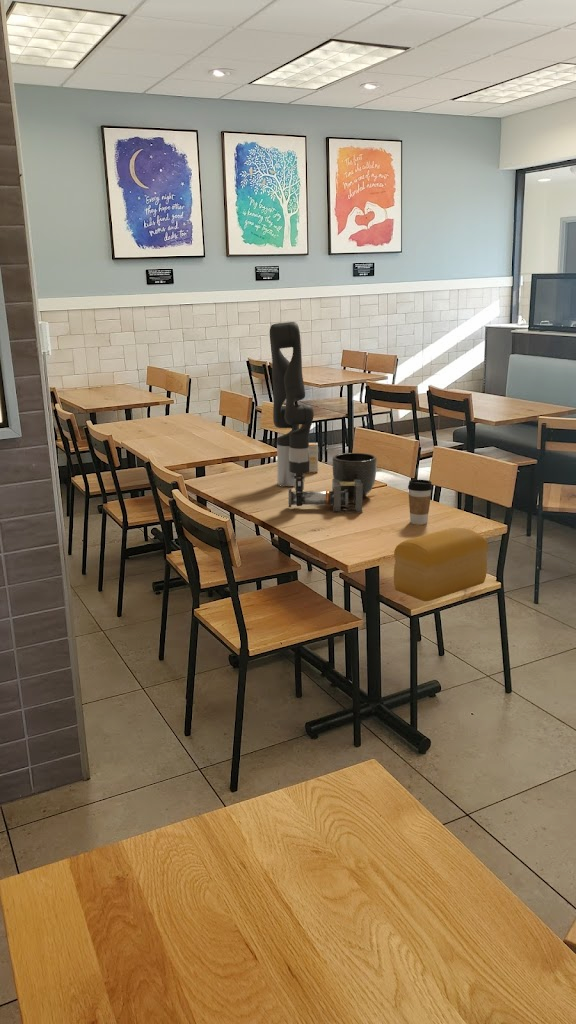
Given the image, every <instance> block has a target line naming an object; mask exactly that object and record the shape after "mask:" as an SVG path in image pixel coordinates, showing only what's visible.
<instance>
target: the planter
mask: <svg viewBox="0 0 576 1024" xmlns="http://www.w3.org/2000/svg"><path fill="white" fill-rule="evenodd" d="M377 461H378V460H377V455H374V454H369V453H364V452H363V453H361V452H348V453H347V452H345V453H344V452H343V453H338V454H335V455H333V456H332V479H339V482H354V479H360V480H361V483H362V486H363V497H362V499H365V498H366V496H367V495H368V494H369V493H370V492H371V491H372V489H373V488H374V485H375V482H376V476H377ZM345 489H347V490H348V500H353V486H341V491H345Z"/></svg>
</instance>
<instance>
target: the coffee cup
mask: <svg viewBox="0 0 576 1024" xmlns="http://www.w3.org/2000/svg"><path fill="white" fill-rule="evenodd" d="M407 489H408V506H409V521H410V523H411V524H412V525H417V526H418V525H419V526H421V525H422V526H423V525H426V524H428V521H429V520H428V519H429V512H430V506H431V505H430V504H431V499H432V497H431V496H432V494H431V493H432V490H433V483H432V481H431V480H427V479H411V480H409V481H408V485H407Z"/></svg>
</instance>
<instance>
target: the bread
mask: <svg viewBox="0 0 576 1024" xmlns="http://www.w3.org/2000/svg"><path fill="white" fill-rule="evenodd" d="M488 551H489V543H488V540H487V539H486V538H485V537H484V536H483V535H481V533H479V532H476V531H474V530H471V528H465V527H450V528H447V529H442V530H439V531H435V532H432V533H427V534H424V535H420V536H416V537H413V538H409V539H405V540H403V541H402V542H400V543H399V544H398V545H397V544H396V547H395V548H394V551H393V555H394V561H395V562H394V568H393V587H394V590H395V591H397V592H400V593H402V594H404V595H407V596H409V597H412V598H414V599H417V600H420V601H422V602H431V601H434V600H437V599H440V598H442V597H446V596H449V595H453V594H455V593H459V592H461V591H464V590H466V589H470V588H473V587H476V586H479V585H483V584H484V583H485V581H486V578H487V574H488V573H487V571H488V568H487V566H488V557H487V553H488Z"/></svg>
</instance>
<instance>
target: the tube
mask: <svg viewBox="0 0 576 1024" xmlns="http://www.w3.org/2000/svg"><path fill="white" fill-rule="evenodd" d="M297 492H301V491H297ZM348 502H349V499H348V490H347V489H345V491H341V505H345V506H344V507H345V508H348V507H349V506H348ZM309 505H310V506H319V505H320V506H323V505H324V506H332V505H334V491H332V490H331V491H330V490H326V491H325V490H324V491H322V490H317V491H316V490H315V491H314V490H313V491H310V490H309V491H304V490H303V496H302V506H309ZM292 506H297V505H296V490H295V491H293V490H292V489H291V488H289V489H288V508H292Z"/></svg>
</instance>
